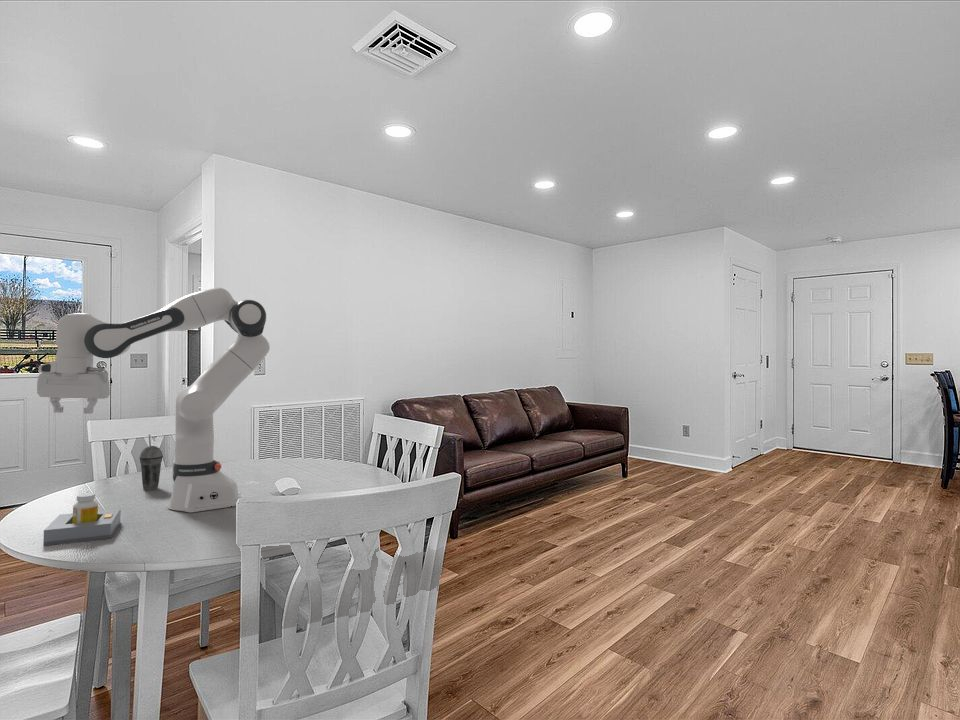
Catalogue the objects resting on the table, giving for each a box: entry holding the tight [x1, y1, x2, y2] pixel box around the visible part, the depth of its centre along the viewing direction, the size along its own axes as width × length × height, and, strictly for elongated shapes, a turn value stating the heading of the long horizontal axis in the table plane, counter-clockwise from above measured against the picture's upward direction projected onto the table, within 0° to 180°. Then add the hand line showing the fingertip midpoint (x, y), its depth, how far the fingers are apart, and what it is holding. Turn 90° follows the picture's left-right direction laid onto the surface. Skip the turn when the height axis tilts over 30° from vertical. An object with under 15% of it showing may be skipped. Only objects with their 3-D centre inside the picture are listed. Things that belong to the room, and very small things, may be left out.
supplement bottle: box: [72, 492, 99, 524], centre depth 138 cm, size 5×5×10 cm
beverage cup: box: [139, 434, 164, 491], centre depth 184 cm, size 7×7×20 cm
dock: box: [43, 508, 122, 547], centre depth 138 cm, size 14×14×4 cm
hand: (73, 413), depth 152 cm, fingers open, 8 cm apart
